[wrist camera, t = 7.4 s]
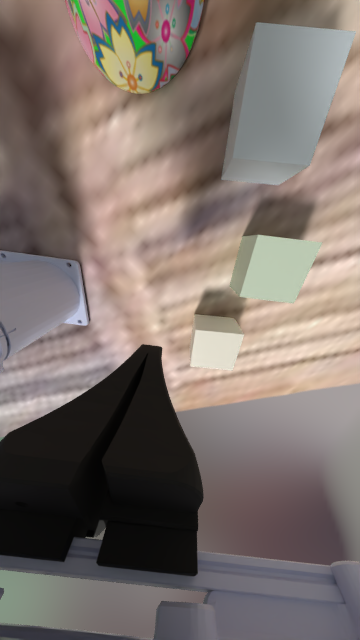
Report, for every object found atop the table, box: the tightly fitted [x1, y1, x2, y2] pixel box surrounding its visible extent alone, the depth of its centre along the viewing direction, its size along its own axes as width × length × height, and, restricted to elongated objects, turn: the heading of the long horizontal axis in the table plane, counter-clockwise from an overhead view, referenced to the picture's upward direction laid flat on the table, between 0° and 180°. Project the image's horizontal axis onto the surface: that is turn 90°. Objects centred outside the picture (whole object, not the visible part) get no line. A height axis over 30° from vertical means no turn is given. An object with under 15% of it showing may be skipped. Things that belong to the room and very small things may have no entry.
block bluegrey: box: [221, 22, 356, 185], centre depth 11 cm, size 5×5×4 cm
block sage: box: [230, 235, 322, 303], centre depth 15 cm, size 5×5×4 cm
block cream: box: [190, 314, 244, 370], centre depth 19 cm, size 5×5×4 cm
